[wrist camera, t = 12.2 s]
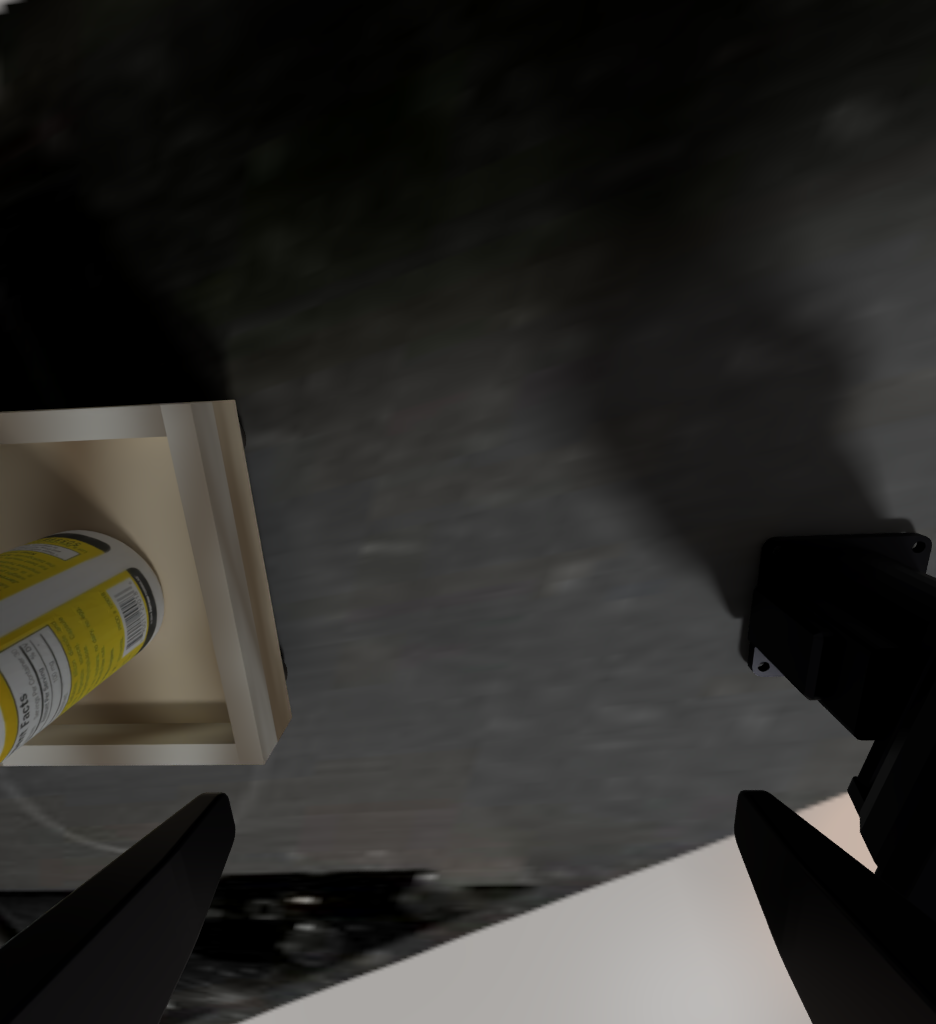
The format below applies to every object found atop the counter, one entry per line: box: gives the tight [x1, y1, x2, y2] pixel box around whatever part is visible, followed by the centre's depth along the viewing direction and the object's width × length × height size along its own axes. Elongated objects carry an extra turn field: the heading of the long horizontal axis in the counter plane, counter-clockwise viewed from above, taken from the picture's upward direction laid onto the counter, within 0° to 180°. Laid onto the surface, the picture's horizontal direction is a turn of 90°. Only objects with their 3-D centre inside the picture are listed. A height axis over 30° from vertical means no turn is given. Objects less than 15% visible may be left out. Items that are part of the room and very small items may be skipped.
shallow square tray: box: [0, 400, 292, 766], centre depth 19 cm, size 12×14×5 cm
